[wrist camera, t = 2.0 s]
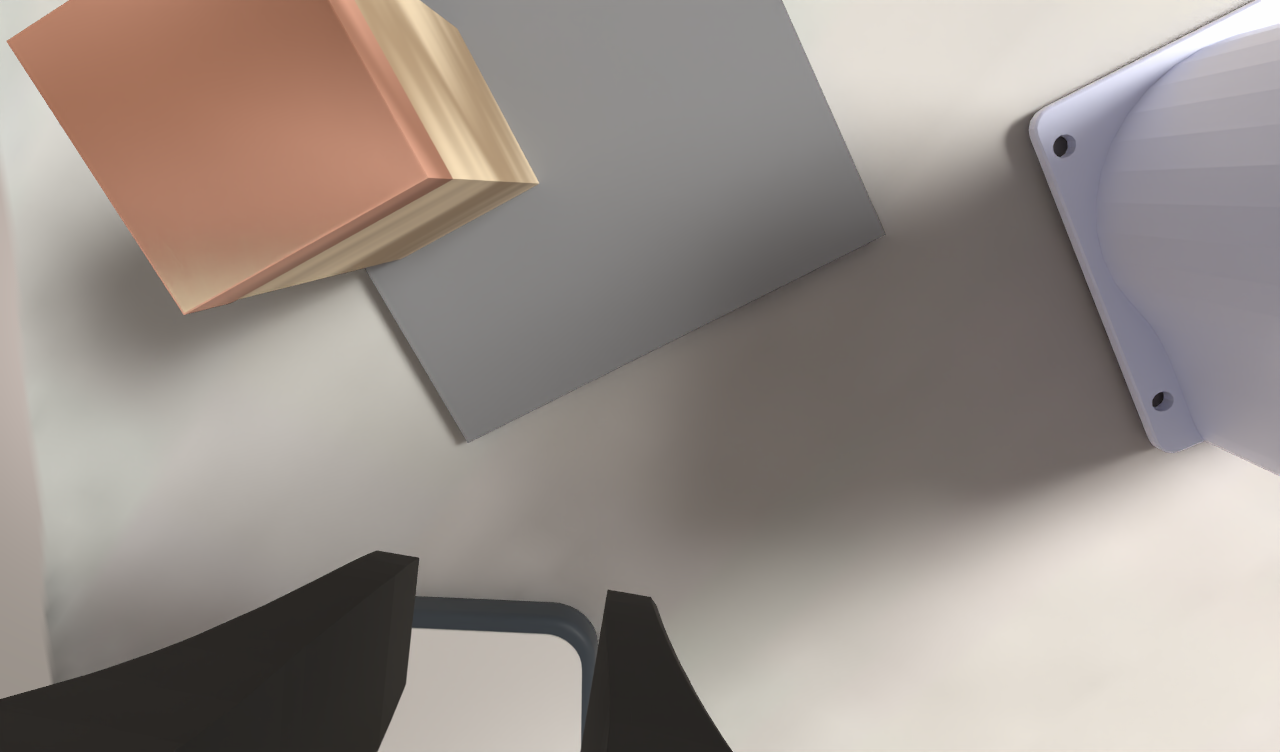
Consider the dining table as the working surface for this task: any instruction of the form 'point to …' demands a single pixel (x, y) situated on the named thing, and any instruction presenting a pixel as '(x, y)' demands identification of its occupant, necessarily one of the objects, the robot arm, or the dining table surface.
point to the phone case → (494, 678)
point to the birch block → (274, 133)
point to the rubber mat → (625, 194)
